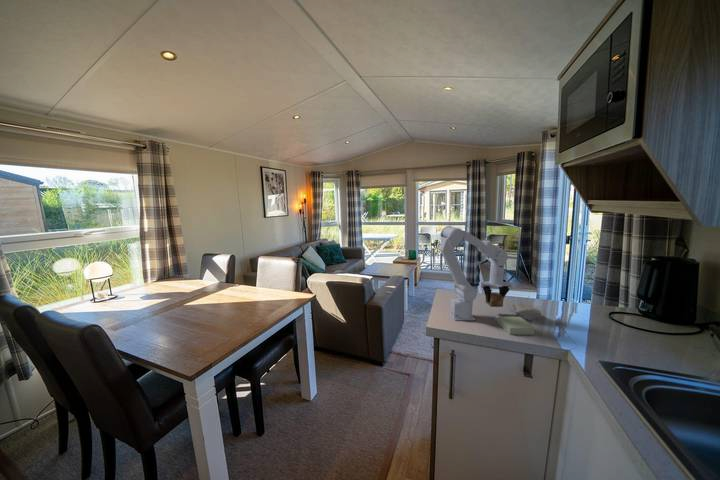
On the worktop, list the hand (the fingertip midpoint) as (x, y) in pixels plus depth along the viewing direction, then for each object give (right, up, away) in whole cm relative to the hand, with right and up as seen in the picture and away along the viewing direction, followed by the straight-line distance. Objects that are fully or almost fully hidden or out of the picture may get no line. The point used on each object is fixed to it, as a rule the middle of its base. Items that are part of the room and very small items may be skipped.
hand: (494, 301), depth 124 cm
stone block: (+15, -7, +2) cm, 17 cm away
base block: (+3, -9, -12) cm, 15 cm away
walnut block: (0, -2, 0) cm, 2 cm away
